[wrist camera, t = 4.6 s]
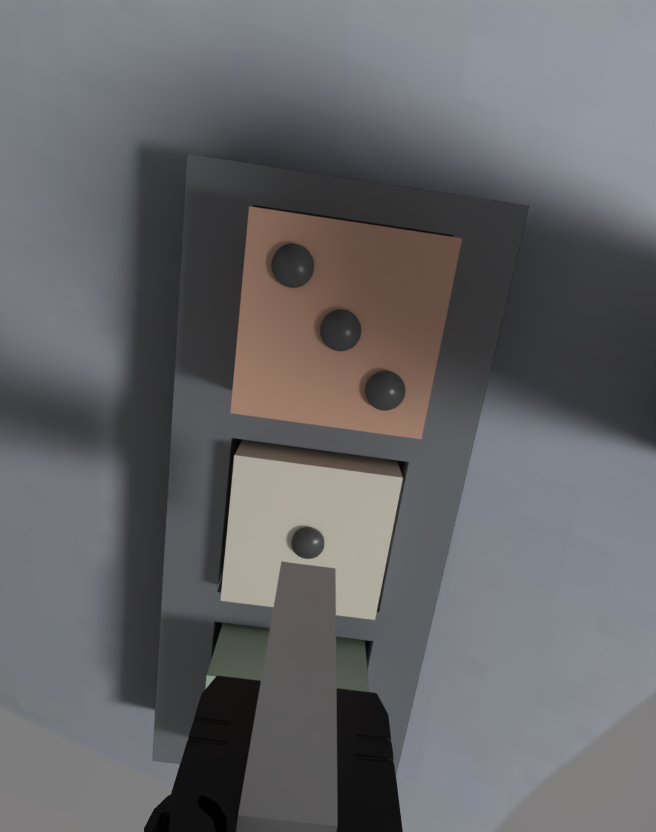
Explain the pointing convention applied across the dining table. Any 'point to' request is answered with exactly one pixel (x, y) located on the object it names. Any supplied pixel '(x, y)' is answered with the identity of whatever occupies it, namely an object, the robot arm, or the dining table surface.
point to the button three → (340, 322)
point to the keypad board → (222, 431)
